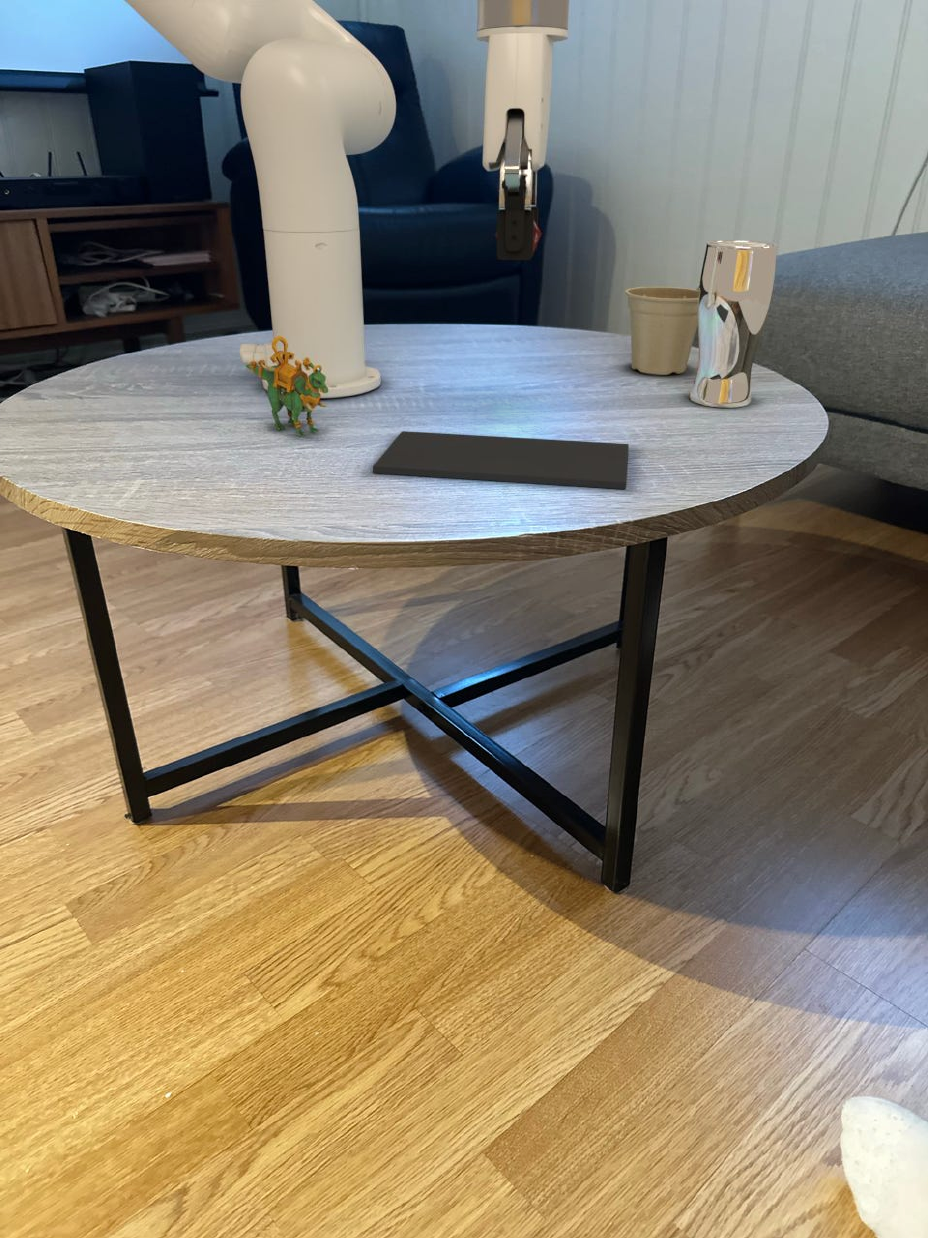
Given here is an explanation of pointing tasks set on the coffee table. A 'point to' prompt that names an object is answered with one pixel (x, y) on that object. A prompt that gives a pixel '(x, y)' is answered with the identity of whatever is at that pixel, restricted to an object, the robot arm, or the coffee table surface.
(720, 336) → the beer glass
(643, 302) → the flower pot
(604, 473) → the mat
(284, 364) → the figurine
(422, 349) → the coffee table surface
